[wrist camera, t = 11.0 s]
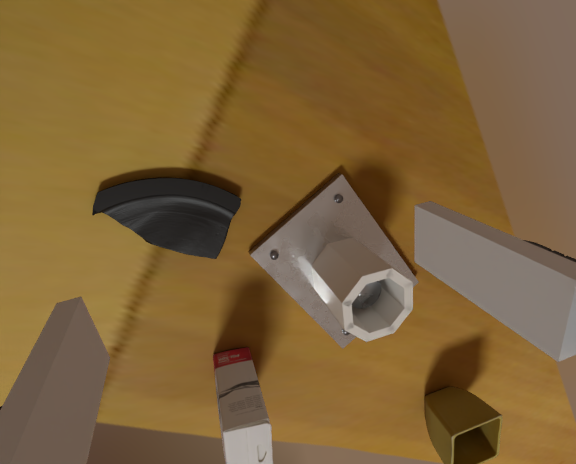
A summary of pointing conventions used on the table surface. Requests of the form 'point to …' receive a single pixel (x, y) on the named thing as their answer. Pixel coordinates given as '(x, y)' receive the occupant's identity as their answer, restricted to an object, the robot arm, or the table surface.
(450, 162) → the table surface
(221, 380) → the ink box
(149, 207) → the curved wedge
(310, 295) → the duct plate
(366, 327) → the octagonal hollow tube
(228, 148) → the table surface
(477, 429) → the flower pot
